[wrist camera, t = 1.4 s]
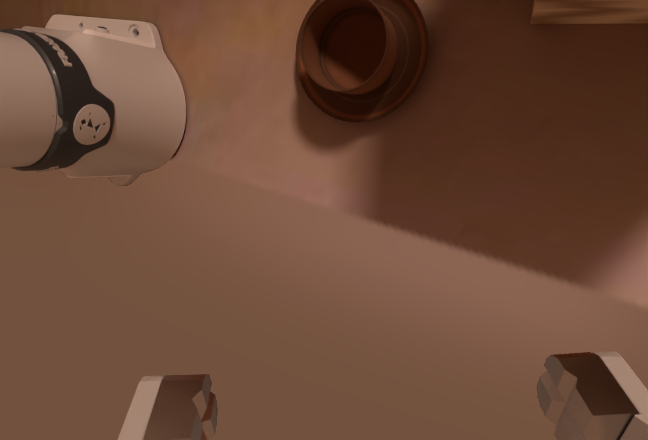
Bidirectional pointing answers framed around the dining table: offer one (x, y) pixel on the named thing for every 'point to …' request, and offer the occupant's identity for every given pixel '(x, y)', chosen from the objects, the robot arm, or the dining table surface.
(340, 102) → the cup and saucer
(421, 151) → the dining table surface
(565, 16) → the zigzag patterned box
